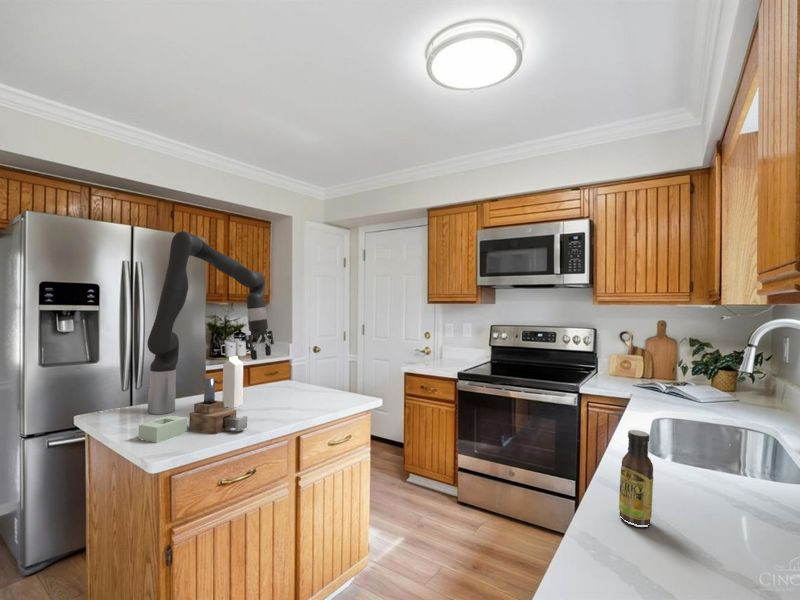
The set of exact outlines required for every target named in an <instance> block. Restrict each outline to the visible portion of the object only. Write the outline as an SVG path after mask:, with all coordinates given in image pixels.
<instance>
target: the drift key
mask: <svg viewBox="0 0 800 600" xmlns="http://www.w3.org/2000/svg"><path fill="white" fill-rule="evenodd" d="M223 427H229V428H230V429H235V431H236V432H240V431H242V430H245V429H248V416H247V415H245V416H242V417H238V416H236V417H230V416H225V417H223Z"/></svg>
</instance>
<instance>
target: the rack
mask: <svg viewBox="0 0 800 600" xmlns="http://www.w3.org/2000/svg"><path fill="white" fill-rule="evenodd" d="M186 433H188V418H187V417H185V416H184V417H182V416H177V415H167V416H163V417H160V418H157V419H153V420H150V421H147V422H143V423H140V424H138V440H139V439H143V440H147V441H146V442H148V441H152V442H151V443H154V442H158V443H161V442H163V441H165V439H166V440H169V439H171V437H172V438H174V437H177V436H180V435H182V434H186ZM168 438H169V439H168ZM143 440H142V441H143ZM162 440H163V441H162ZM160 441H161V442H160Z"/></svg>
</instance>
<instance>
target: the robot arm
mask: <svg viewBox="0 0 800 600" xmlns="http://www.w3.org/2000/svg"><path fill="white" fill-rule="evenodd" d="M170 242H171V243H170V250H169V251H170V252H169V256H168V257H169V258H168V264H167V269H166V273H165V277H164V278H165V279H164V282H163V285H162V289H161V291H160V292H161V294H160V297H159V302H158V306H157V309H156V315H155V319H154V322H153V325H152V327H151V330H150V333H149V335H148V338H147V343H146V345H147V349H148V350H149V352H150V353H151V354H152V355H154V359H153V361H152V362H151V363H150V367H149V370H150V373H149V388H148V389H147V412H148V413H149V414H151V415H162V414H163V415H165V414H170V413H172V412H175V411H176V385H177V384H176V382H177V380H176V379H177V377H176V376H177V364H178V361H179V354H180V353H179V351H180V350H179V349H180V342H179V341H180V340H179V337H178V335H177V333H175V332H173V329H174V325H175V322H176V319H177V318H178V316H179V314H180V313H181V311H182V310H183V307H184V305H185V303H186V301H187V296H188V292H189V278H188V273H187V266H188V262H189V257H195V258H197V259H201V260H203V261H204V262H207V263H208V264H210V265H211V266H212V267H214V268H215V269H216V270H218V271H219V272H221V273H223V274H225V275H226V276H228V277H230V278H232V279H234V280H235V281H236V282H238V283H239V284H240V285H242V286H243V287H246V288H248V289H249V292H248V293H249V294H248V295H247V296H246V308H247V313H246V316H247V324H248V331H249V332H250V334H245V335H244V337H245V338H244V341H245V342H244V343H245V350H246V351H249V352H250V358H251V360H252V361H256V360H258V354H257V348H258V346H259V345H260V344H262V345H264V351H265V356H267V357H269V356H272V350H271V349H272V348H271V347H272V345H274V344H275V342H274V337H273V335H274V334H273V331H272V330H268V329H269V325H268V315H267V310H266V304H265V303H266V302H265V292H266V291H265V289H266V279H265V277H264V275H263V273H262V272H261V271H258V270H257V271H255V270H251V269H250V268H247V267H246V266H244V264H242V263H241V262H239V261H238V260H236V259H235V258H232V257H230V256H228V255H227V254H224V253H222V252H220V251H218V250H216V249H215V248H213V247H212V246H210V245H209V244H208V243H206V242H205V241H203V240H202V239H201V238H200V237H199V236H197V234H194V233H191V232H187V231H183V230H182V231H178V232H177V233H175V234H174V235H173V237H172V239H171V241H170Z"/></svg>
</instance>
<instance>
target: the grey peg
mask: <svg viewBox="0 0 800 600" xmlns="http://www.w3.org/2000/svg"><path fill="white" fill-rule="evenodd" d="M203 379H204V382H203V384H204V385H203V388H204V389H203V401H204V404H208V405H210V404H214V403H215V399H216V377H211V376H210V377H209V376H208V377H205V378H203Z"/></svg>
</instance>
